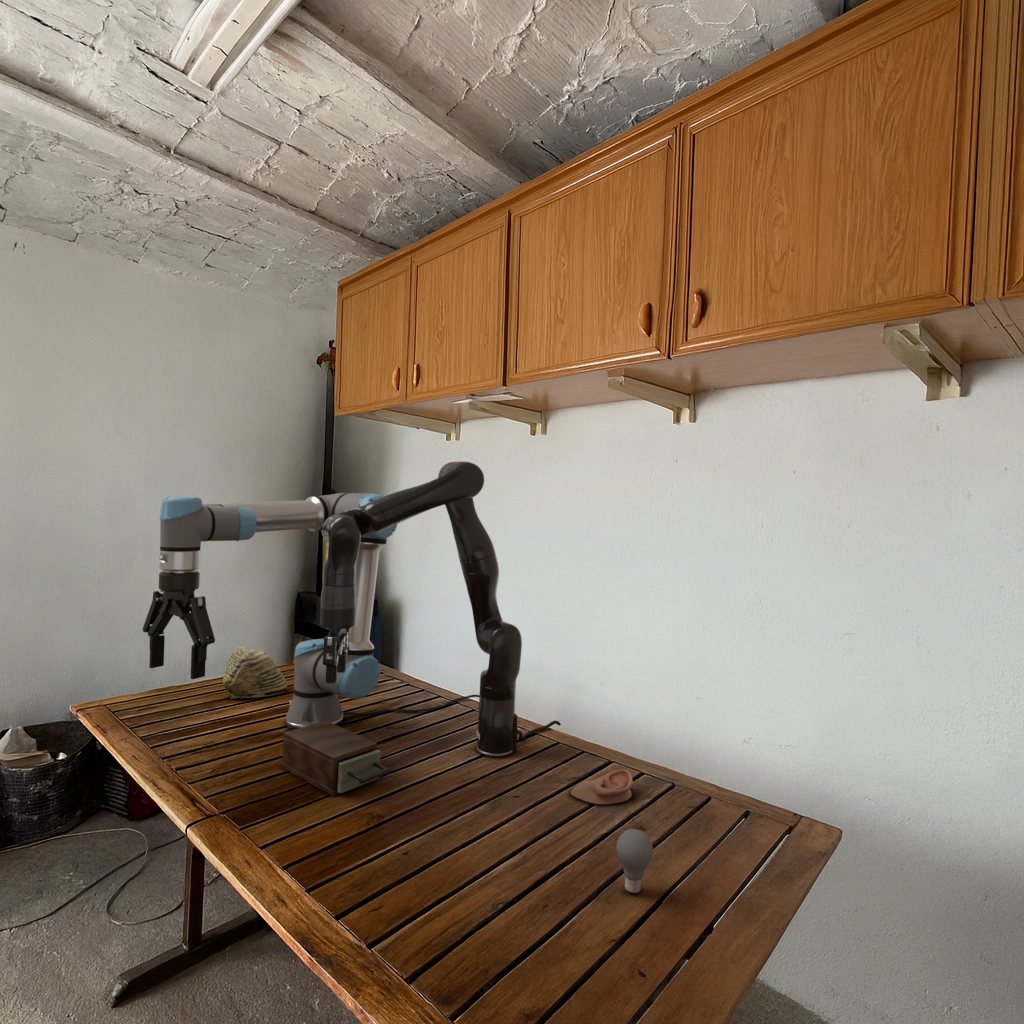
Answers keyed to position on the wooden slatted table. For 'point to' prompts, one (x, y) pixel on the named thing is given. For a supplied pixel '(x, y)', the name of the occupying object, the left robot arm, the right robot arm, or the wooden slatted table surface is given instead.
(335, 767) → the cabinet
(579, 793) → the anatomical model
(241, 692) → the fossil
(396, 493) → the right robot arm
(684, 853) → the wooden slatted table surface
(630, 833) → the light bulb
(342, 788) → the drawer
